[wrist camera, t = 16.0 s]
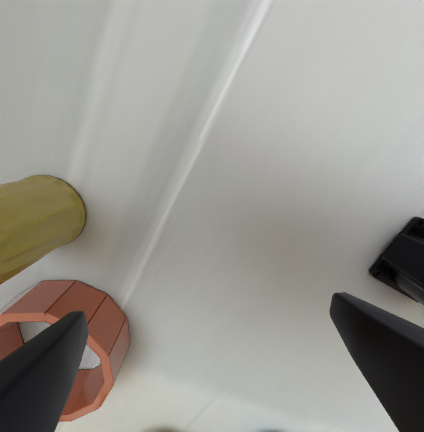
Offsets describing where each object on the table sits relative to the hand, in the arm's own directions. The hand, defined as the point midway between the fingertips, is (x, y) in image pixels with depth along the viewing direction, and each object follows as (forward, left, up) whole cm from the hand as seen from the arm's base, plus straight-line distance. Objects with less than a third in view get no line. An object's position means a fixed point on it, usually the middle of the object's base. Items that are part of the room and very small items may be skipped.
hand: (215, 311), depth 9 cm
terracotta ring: (+6, +18, -12) cm, 22 cm away
